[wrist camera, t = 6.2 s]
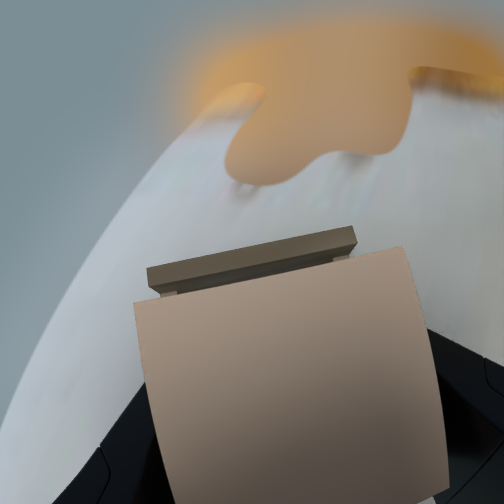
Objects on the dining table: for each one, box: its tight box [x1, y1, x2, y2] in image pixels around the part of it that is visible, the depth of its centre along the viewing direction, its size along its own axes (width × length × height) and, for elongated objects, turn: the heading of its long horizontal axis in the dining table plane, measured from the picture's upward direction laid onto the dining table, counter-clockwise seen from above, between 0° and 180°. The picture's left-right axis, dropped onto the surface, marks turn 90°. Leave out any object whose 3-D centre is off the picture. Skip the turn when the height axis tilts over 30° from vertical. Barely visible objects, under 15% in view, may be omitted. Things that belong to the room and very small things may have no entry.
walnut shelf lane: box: [146, 226, 358, 298], centre depth 17 cm, size 10×11×4 cm
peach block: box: [133, 246, 450, 504], centre depth 9 cm, size 4×4×10 cm
